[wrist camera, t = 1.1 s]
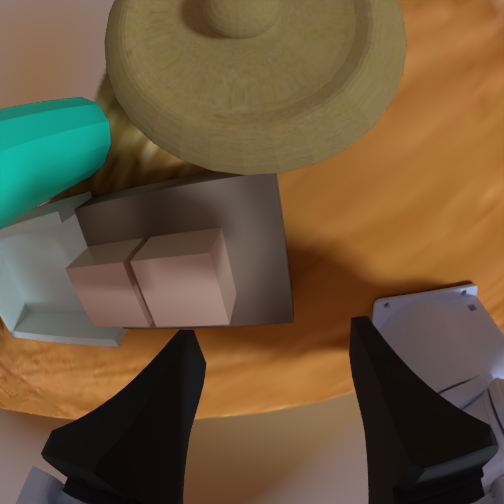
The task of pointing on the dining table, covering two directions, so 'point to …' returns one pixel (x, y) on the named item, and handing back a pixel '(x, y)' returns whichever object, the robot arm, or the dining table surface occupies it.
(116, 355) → the dining table surface
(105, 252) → the tile
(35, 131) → the candle
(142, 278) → the tile
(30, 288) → the tray
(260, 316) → the grey slab
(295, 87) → the pot
